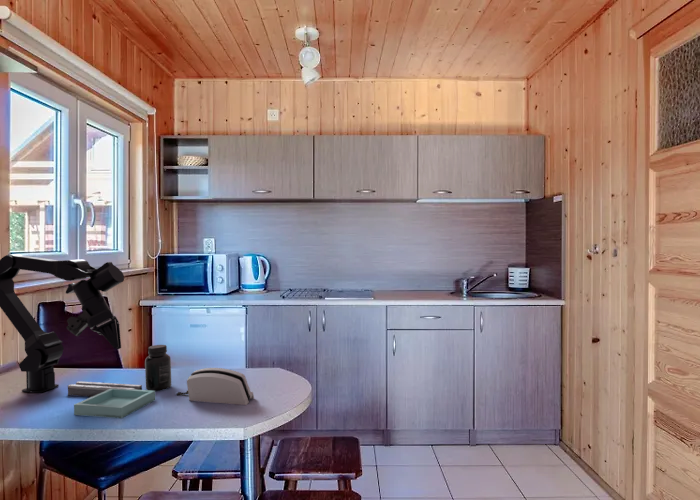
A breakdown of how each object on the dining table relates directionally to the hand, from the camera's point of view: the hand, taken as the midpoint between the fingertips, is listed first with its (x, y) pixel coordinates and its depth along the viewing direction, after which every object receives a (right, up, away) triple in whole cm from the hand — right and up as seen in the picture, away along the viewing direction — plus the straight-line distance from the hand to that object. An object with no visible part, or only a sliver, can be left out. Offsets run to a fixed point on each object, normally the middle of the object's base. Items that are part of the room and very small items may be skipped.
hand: (118, 348), depth 130 cm
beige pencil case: (+31, -12, -10) cm, 35 cm away
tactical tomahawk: (+23, -12, +5) cm, 27 cm away
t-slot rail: (-2, -12, -4) cm, 13 cm away
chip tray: (+6, -12, -13) cm, 19 cm away
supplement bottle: (+11, -12, +2) cm, 16 cm away
